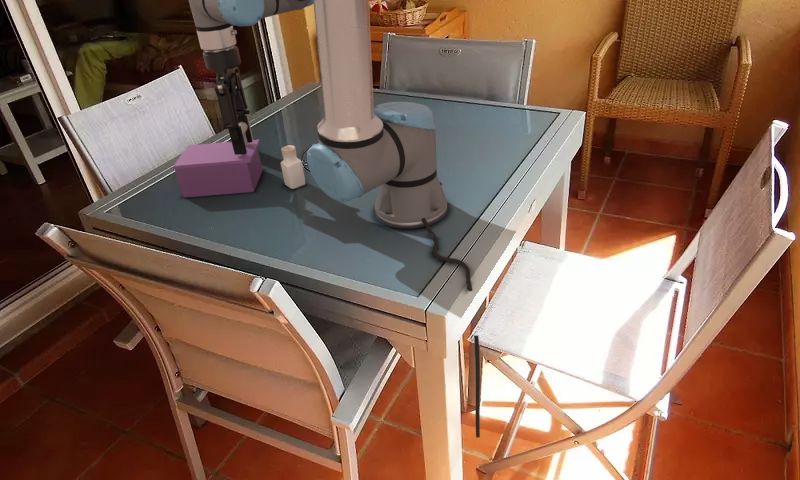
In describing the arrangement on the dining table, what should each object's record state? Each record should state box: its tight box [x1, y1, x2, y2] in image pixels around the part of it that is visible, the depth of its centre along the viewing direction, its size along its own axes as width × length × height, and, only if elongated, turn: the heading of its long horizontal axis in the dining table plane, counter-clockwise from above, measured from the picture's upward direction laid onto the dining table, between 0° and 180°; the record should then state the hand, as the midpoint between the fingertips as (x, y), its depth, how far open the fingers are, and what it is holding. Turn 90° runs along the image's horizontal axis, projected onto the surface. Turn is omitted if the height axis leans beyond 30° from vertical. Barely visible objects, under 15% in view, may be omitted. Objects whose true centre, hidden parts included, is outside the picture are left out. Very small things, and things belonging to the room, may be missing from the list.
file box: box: [174, 147, 264, 198], centre depth 139 cm, size 17×12×7 cm
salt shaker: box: [280, 144, 307, 190], centre depth 134 cm, size 4×4×10 cm
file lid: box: [173, 122, 261, 170], centre depth 135 cm, size 18×12×7 cm
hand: (243, 147), depth 136 cm, fingers closed on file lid, 6 cm apart
